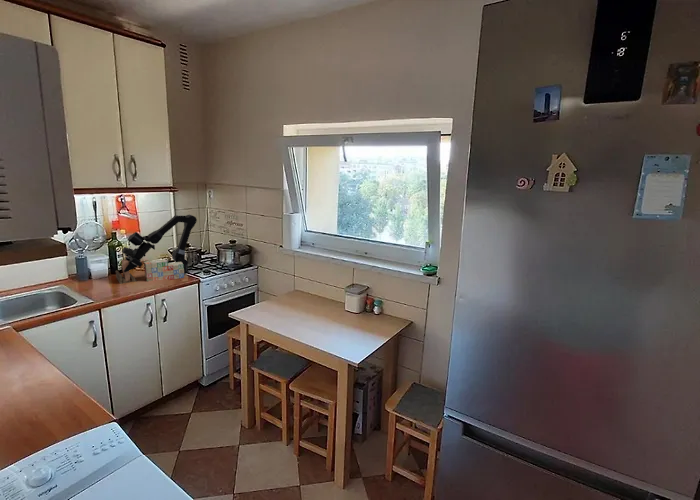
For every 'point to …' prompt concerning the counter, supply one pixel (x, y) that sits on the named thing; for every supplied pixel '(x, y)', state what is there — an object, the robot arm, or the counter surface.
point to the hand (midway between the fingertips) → (123, 270)
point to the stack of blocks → (163, 270)
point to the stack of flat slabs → (121, 278)
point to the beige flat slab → (124, 265)
